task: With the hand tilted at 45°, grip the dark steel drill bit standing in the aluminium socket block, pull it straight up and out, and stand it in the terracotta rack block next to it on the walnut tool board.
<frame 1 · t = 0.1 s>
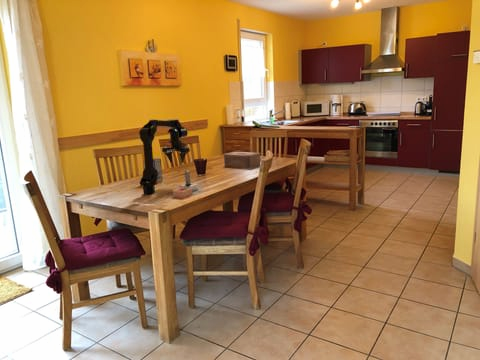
hand: (177, 162, 253), 15 cm above the table, tool pointing down, fingers open, 9 cm apart
rack block: (182, 195, 223), resting on tool board
tool board: (185, 194, 229), on the table
tissue box cover: (242, 166, 314), on the table
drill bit: (188, 180, 233), in the socket block, point 7 cm above the table, touching tool board
socket block: (188, 187, 234), on the tool board, point 3 cm above the table
coffee box: (155, 182, 269), on the table
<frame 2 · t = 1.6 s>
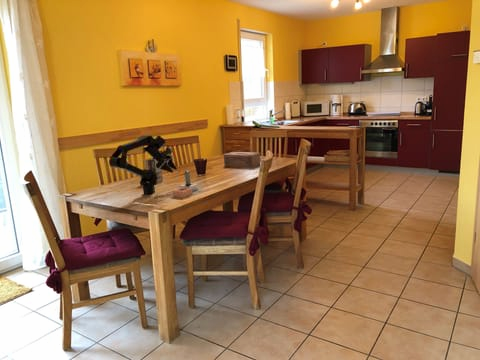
hand: (174, 170, 233), 13 cm above the table, tool tilted 45°, fingers open, 9 cm apart
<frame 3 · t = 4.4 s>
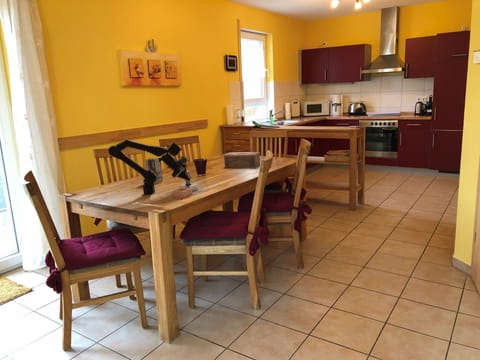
hand: (190, 179, 233), 8 cm above the table, tool tilted 45°, fingers closed on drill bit, 3 cm apart
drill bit: (188, 180, 233), in the socket block, point 7 cm above the table, touching gripper, tool board
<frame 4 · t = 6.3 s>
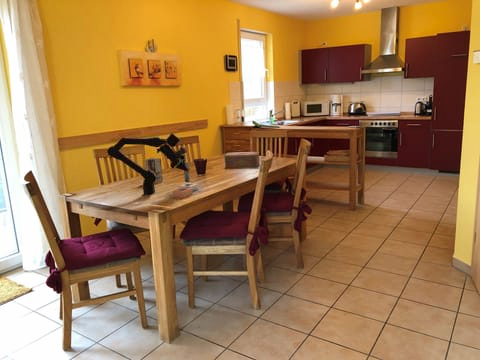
hand: (188, 170, 231), 13 cm above the table, tool tilted 45°, fingers closed on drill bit, 3 cm apart
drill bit: (186, 171, 231), point 13 cm above the table, touching gripper
when the fingers open (9 cm above the table, at t = 8.5 s): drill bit drops 1 cm, resting on tool board.
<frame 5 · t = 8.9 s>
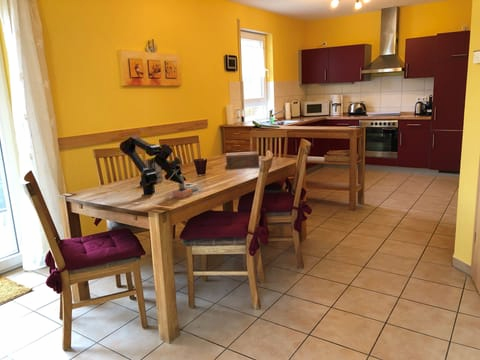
hand: (184, 181, 222), 9 cm above the table, tool tilted 45°, fingers open, 8 cm apart
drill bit: (181, 185, 222), in the rack block, point 7 cm above the table, touching tool board
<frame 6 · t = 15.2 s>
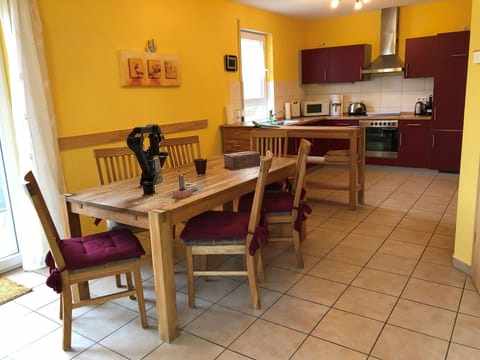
hand: (156, 169, 243), 13 cm above the table, tool pointing down, fingers open, 9 cm apart
at the end: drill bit 0.1 cm off-centre on the rack block, point 6.0 cm above the rack block's base; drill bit tilted 1°; the gripper is holding nothing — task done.
